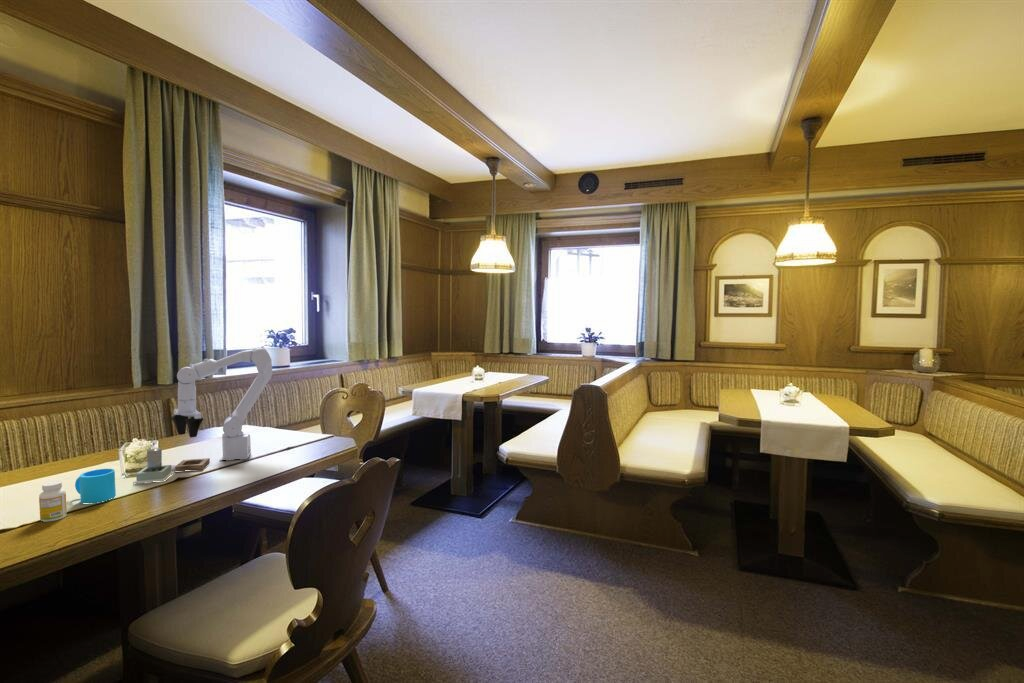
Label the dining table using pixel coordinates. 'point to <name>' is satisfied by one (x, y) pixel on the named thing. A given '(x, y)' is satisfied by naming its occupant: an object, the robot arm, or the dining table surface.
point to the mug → (96, 485)
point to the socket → (192, 464)
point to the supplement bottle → (52, 502)
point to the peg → (154, 460)
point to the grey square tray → (153, 475)
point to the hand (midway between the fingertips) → (187, 435)
